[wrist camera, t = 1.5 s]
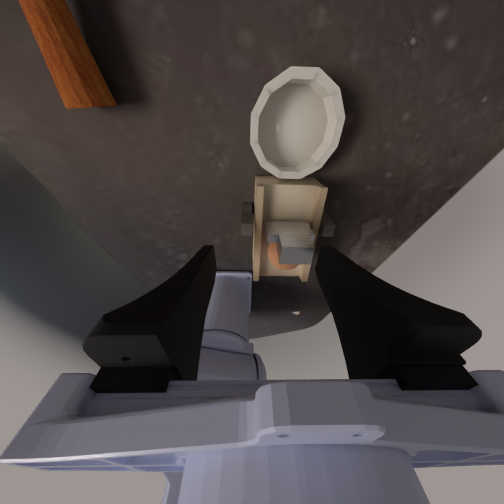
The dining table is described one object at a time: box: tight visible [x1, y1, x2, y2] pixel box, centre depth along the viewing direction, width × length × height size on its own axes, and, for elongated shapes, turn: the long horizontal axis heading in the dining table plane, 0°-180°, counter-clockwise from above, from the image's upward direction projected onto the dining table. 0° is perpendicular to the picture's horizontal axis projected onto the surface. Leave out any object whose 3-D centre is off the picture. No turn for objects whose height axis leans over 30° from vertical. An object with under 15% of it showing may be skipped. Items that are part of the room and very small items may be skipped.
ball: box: [268, 243, 299, 270], centre depth 18 cm, size 3×3×3 cm
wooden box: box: [241, 176, 336, 282], centre depth 20 cm, size 10×9×5 cm
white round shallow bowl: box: [250, 66, 345, 179], centre depth 15 cm, size 7×7×2 cm
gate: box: [265, 221, 315, 265], centre depth 16 cm, size 2×4×5 cm, turn 89°
